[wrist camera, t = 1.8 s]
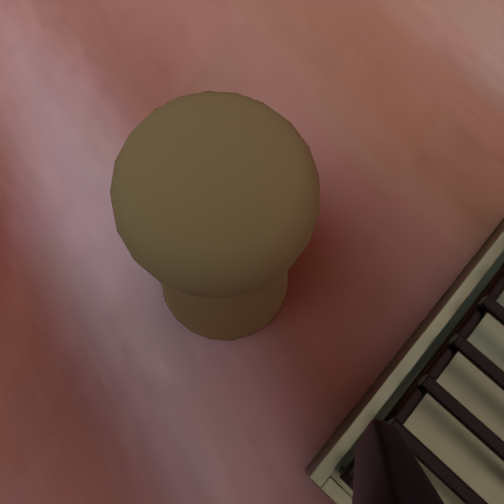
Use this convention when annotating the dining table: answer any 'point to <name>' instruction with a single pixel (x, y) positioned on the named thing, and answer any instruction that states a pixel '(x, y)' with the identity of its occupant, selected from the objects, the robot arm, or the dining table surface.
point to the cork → (216, 208)
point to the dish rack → (440, 393)
